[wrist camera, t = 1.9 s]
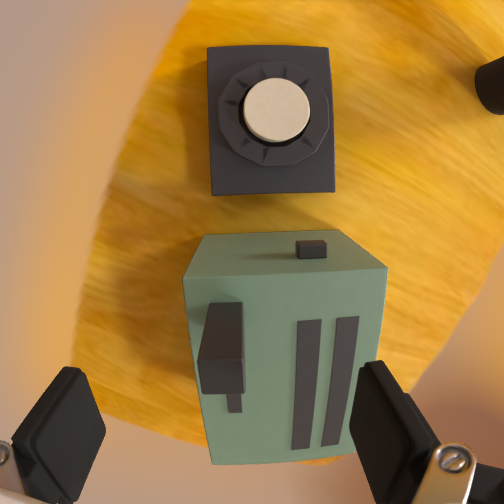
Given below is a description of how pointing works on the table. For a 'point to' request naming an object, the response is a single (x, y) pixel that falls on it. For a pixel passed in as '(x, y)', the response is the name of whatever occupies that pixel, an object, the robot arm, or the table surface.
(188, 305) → the toaster
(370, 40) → the table surface
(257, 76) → the control block
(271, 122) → the button
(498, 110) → the drinking cup
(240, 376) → the slider
